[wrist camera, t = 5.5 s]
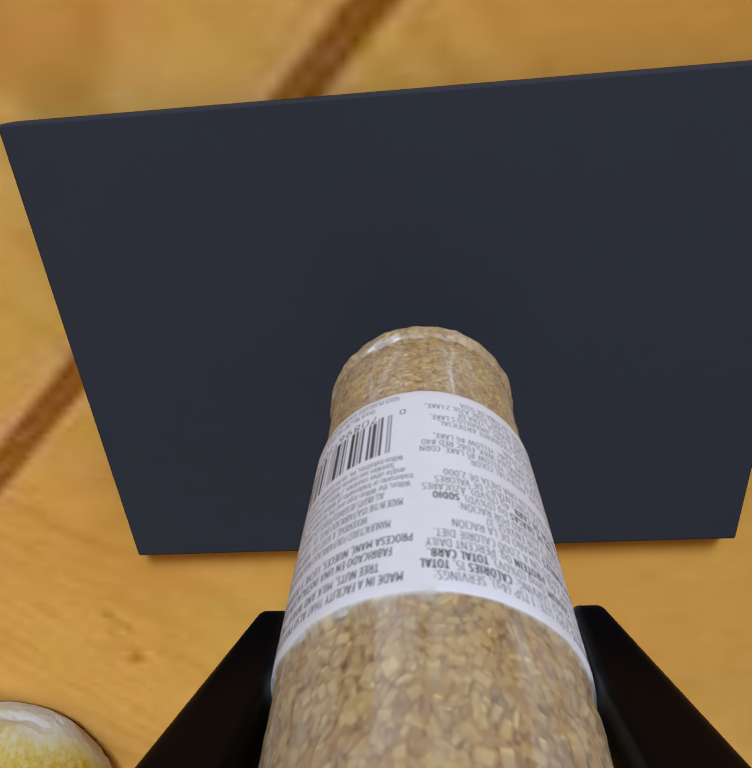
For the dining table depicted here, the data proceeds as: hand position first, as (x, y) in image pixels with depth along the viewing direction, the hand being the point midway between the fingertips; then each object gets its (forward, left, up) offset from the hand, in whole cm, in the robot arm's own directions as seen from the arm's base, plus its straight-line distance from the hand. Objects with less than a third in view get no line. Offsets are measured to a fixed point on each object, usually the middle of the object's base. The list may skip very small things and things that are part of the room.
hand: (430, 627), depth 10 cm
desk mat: (0, 0, -10) cm, 10 cm away
